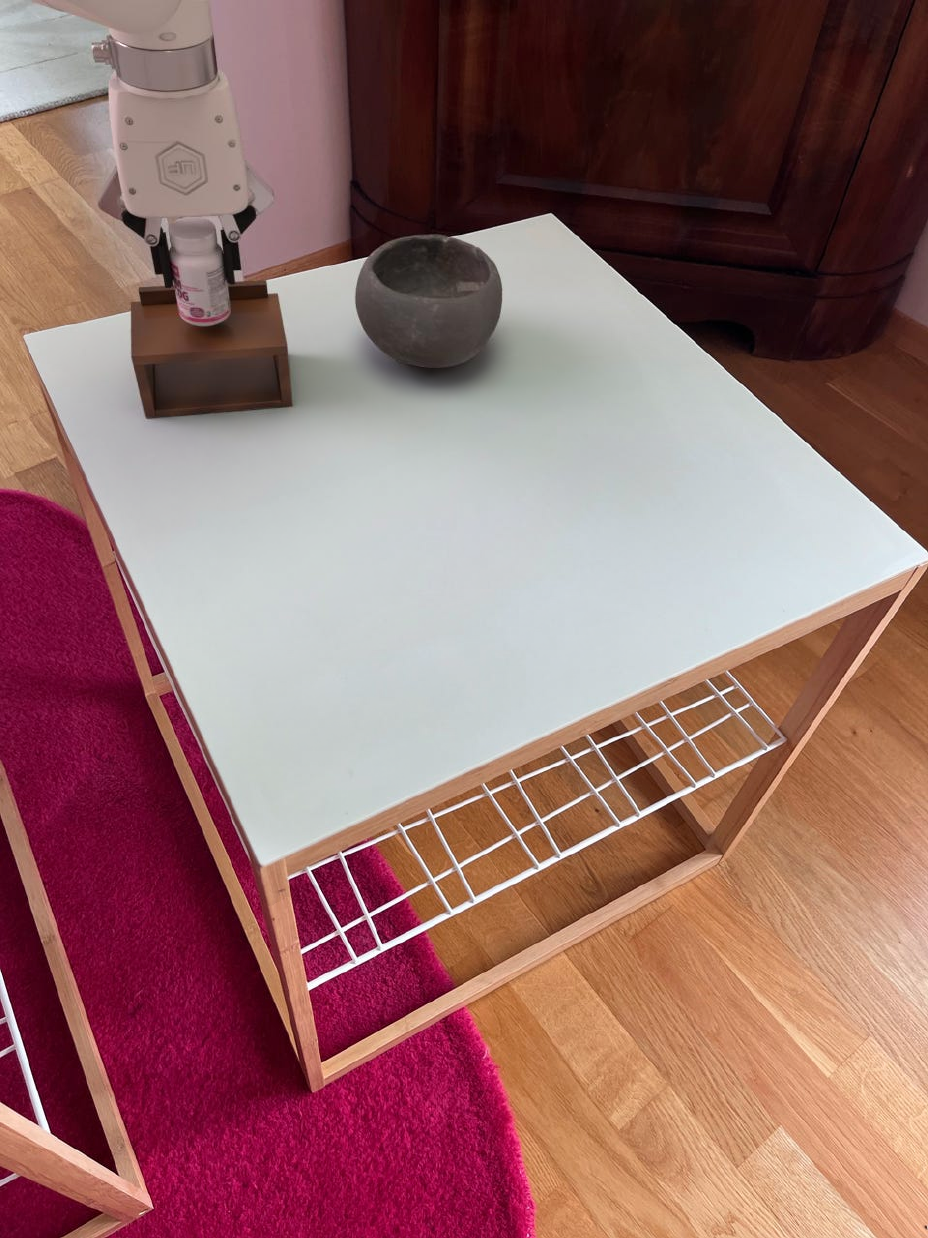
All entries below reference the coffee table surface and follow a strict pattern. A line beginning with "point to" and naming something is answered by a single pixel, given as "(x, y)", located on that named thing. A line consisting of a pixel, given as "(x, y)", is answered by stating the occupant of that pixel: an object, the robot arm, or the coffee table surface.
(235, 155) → the robot arm
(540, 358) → the coffee table surface
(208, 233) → the pill bottle
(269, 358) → the shelf
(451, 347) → the bowl
